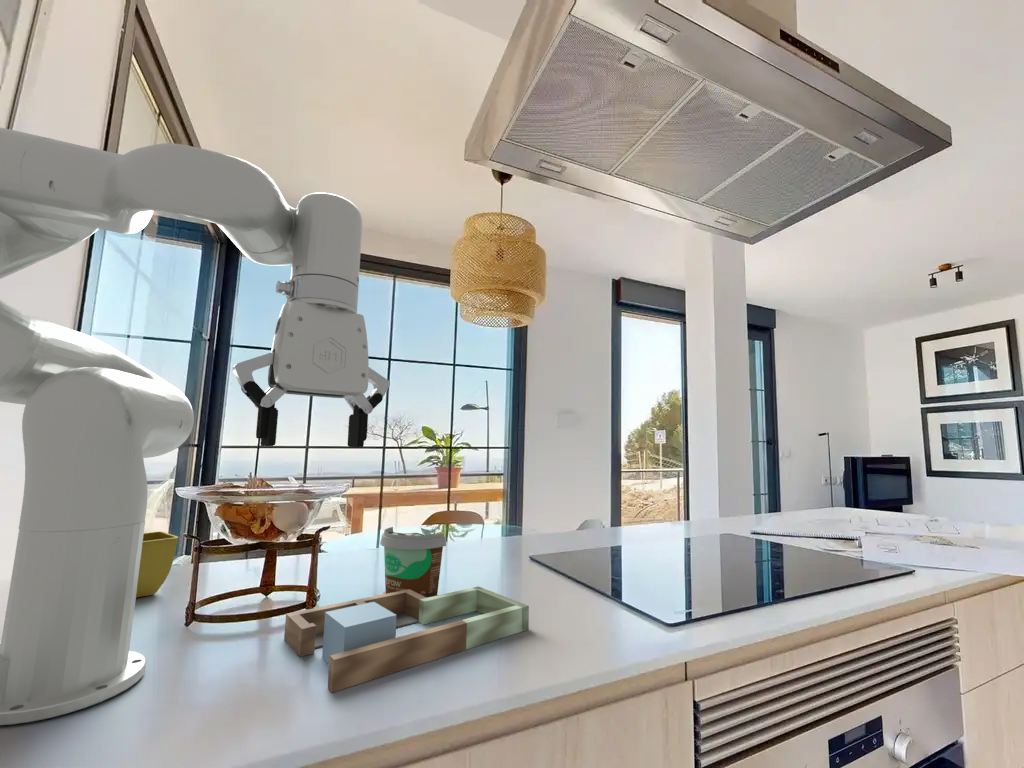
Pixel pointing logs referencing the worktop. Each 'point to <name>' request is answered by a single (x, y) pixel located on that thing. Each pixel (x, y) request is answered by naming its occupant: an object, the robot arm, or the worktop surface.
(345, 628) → the block
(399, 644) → the wood and green frame
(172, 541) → the flower pot
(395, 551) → the food container
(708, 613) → the worktop surface
